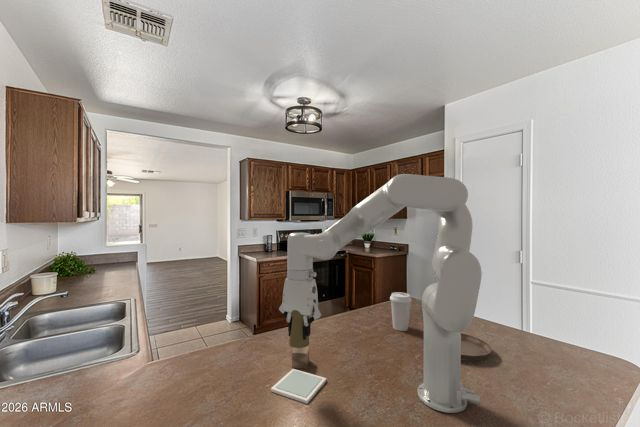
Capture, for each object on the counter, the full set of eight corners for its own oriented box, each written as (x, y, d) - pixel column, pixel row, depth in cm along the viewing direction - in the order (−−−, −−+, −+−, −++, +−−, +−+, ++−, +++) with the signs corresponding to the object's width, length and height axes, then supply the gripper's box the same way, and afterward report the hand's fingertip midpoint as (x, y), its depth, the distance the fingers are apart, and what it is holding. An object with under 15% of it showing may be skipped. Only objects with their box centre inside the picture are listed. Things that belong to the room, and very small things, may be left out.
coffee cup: (414, 332, 125) (414, 297, 125) (392, 332, 125) (392, 297, 125) (408, 324, 134) (408, 291, 134) (387, 324, 134) (387, 291, 134)
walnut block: (309, 361, 100) (309, 346, 100) (306, 368, 95) (306, 353, 95) (294, 360, 101) (295, 345, 101) (291, 367, 96) (292, 352, 96)
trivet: (326, 380, 88) (326, 377, 88) (307, 403, 78) (307, 400, 78) (292, 371, 94) (292, 368, 94) (270, 391, 83) (270, 388, 83)
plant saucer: (450, 334, 123) (450, 327, 123) (502, 354, 106) (502, 345, 106) (418, 346, 112) (418, 338, 112) (471, 371, 95) (471, 361, 95)
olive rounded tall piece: (306, 349, 82) (307, 310, 82) (286, 346, 83) (286, 308, 83) (311, 340, 88) (311, 303, 88) (292, 338, 89) (292, 302, 89)
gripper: (330, 275, 85) (330, 337, 85) (283, 269, 93) (282, 326, 93) (319, 280, 79) (318, 347, 79) (269, 273, 86) (268, 335, 86)
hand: (299, 335), depth 86 cm, fingers closed on olive rounded tall piece, 4 cm apart
